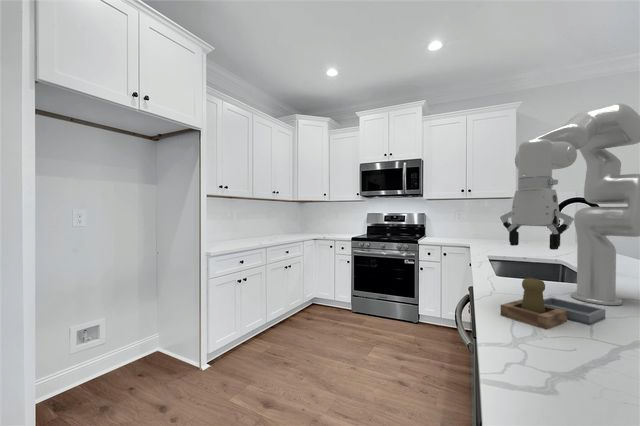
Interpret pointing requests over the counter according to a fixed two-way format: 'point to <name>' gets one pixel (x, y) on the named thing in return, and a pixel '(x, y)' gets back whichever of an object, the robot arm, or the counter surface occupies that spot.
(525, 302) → the cork
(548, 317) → the socket block
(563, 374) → the counter surface
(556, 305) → the tray
